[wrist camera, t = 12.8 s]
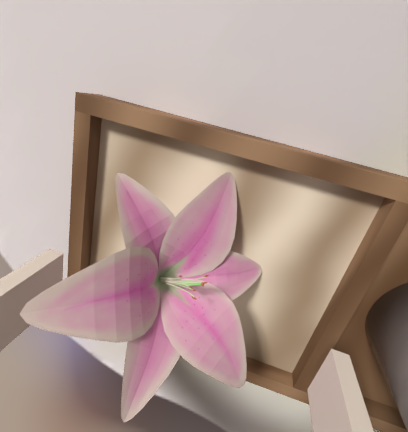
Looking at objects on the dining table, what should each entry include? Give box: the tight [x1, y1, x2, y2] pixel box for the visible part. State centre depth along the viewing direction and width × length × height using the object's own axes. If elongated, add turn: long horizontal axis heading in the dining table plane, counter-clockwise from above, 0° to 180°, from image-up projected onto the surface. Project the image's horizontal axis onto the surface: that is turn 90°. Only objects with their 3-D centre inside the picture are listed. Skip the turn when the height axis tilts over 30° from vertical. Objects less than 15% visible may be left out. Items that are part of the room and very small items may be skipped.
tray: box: [67, 92, 408, 432], centre depth 18 cm, size 30×16×2 cm, turn 76°
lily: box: [20, 172, 262, 422], centre depth 15 cm, size 12×12×10 cm
